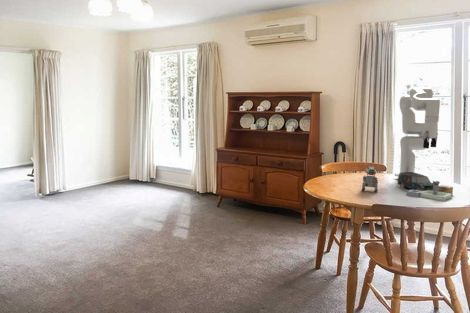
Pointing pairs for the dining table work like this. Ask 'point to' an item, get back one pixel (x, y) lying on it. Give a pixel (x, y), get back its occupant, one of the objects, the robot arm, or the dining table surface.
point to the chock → (445, 189)
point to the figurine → (370, 179)
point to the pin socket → (413, 193)
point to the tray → (440, 196)
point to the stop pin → (435, 187)
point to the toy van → (414, 181)
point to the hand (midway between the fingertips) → (429, 147)
